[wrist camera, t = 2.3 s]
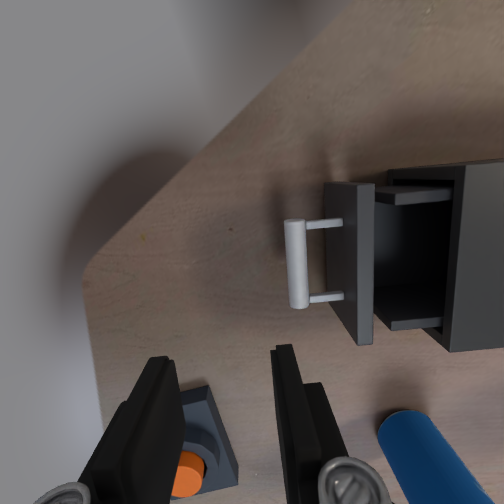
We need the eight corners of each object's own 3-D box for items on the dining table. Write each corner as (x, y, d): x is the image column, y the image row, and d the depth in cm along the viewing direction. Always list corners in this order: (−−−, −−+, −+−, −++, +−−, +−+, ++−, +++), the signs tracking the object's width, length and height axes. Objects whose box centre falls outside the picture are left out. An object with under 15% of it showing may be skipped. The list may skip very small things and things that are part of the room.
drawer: (283, 306, 29) (297, 352, 21) (275, 187, 26) (287, 191, 18) (463, 288, 29) (542, 328, 21) (474, 168, 26) (570, 164, 18)
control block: (140, 402, 32) (126, 432, 29) (208, 385, 32) (203, 413, 28) (175, 481, 35) (167, 518, 32) (238, 466, 35) (237, 502, 31)
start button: (160, 455, 30) (155, 471, 28) (197, 446, 30) (194, 462, 28) (173, 483, 31) (169, 501, 29) (209, 475, 31) (207, 492, 29)
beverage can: (439, 429, 34) (538, 558, 23) (394, 458, 35) (467, 596, 24) (410, 395, 33) (499, 513, 21) (363, 426, 34) (425, 555, 22)
